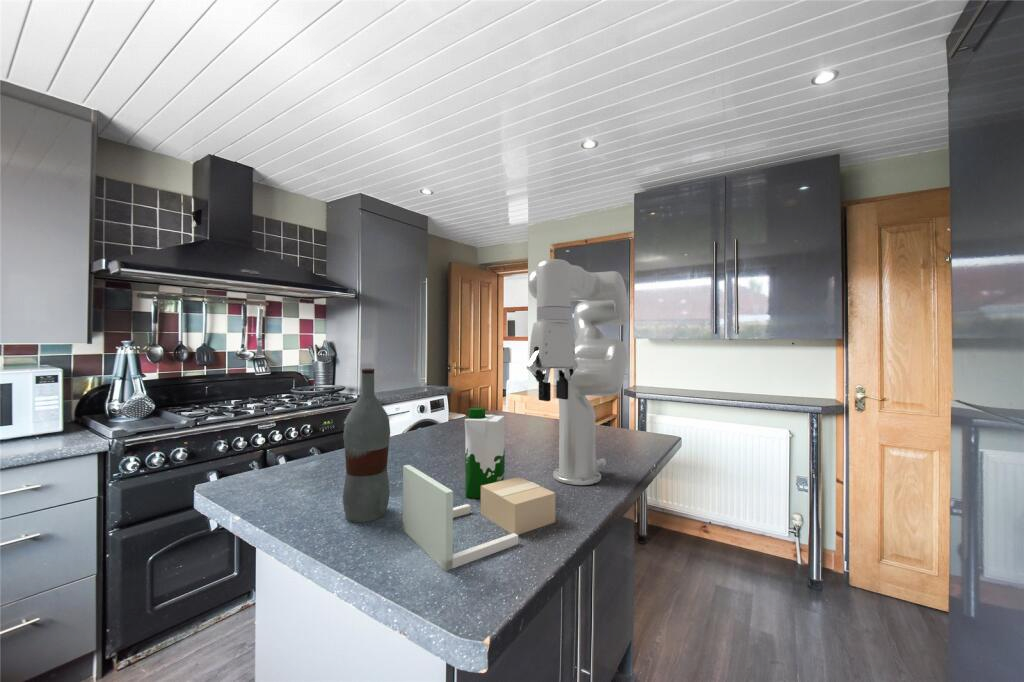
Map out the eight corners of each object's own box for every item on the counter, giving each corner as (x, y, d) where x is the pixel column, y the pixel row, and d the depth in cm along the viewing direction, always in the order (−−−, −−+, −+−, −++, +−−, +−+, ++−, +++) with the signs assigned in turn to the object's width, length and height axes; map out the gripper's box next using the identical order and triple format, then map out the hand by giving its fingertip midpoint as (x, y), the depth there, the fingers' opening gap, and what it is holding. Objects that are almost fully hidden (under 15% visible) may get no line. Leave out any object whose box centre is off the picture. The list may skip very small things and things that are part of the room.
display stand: (467, 511, 83) (467, 453, 83) (518, 544, 69) (518, 475, 69) (402, 529, 75) (403, 465, 75) (445, 571, 61) (446, 492, 61)
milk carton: (472, 485, 98) (472, 405, 99) (507, 488, 97) (507, 406, 97) (460, 498, 90) (461, 411, 90) (499, 502, 88) (499, 412, 88)
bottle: (337, 511, 82) (338, 368, 83) (380, 501, 88) (382, 367, 89) (349, 527, 75) (351, 370, 76) (396, 515, 81) (397, 369, 81)
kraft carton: (518, 503, 88) (519, 476, 88) (555, 523, 78) (555, 492, 78) (480, 514, 82) (480, 485, 82) (514, 537, 72) (514, 503, 72)
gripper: (568, 319, 95) (568, 395, 95) (512, 315, 85) (512, 400, 84) (592, 317, 89) (592, 398, 89) (535, 313, 79) (535, 404, 78)
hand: (553, 398), depth 87 cm, fingers open, 4 cm apart
